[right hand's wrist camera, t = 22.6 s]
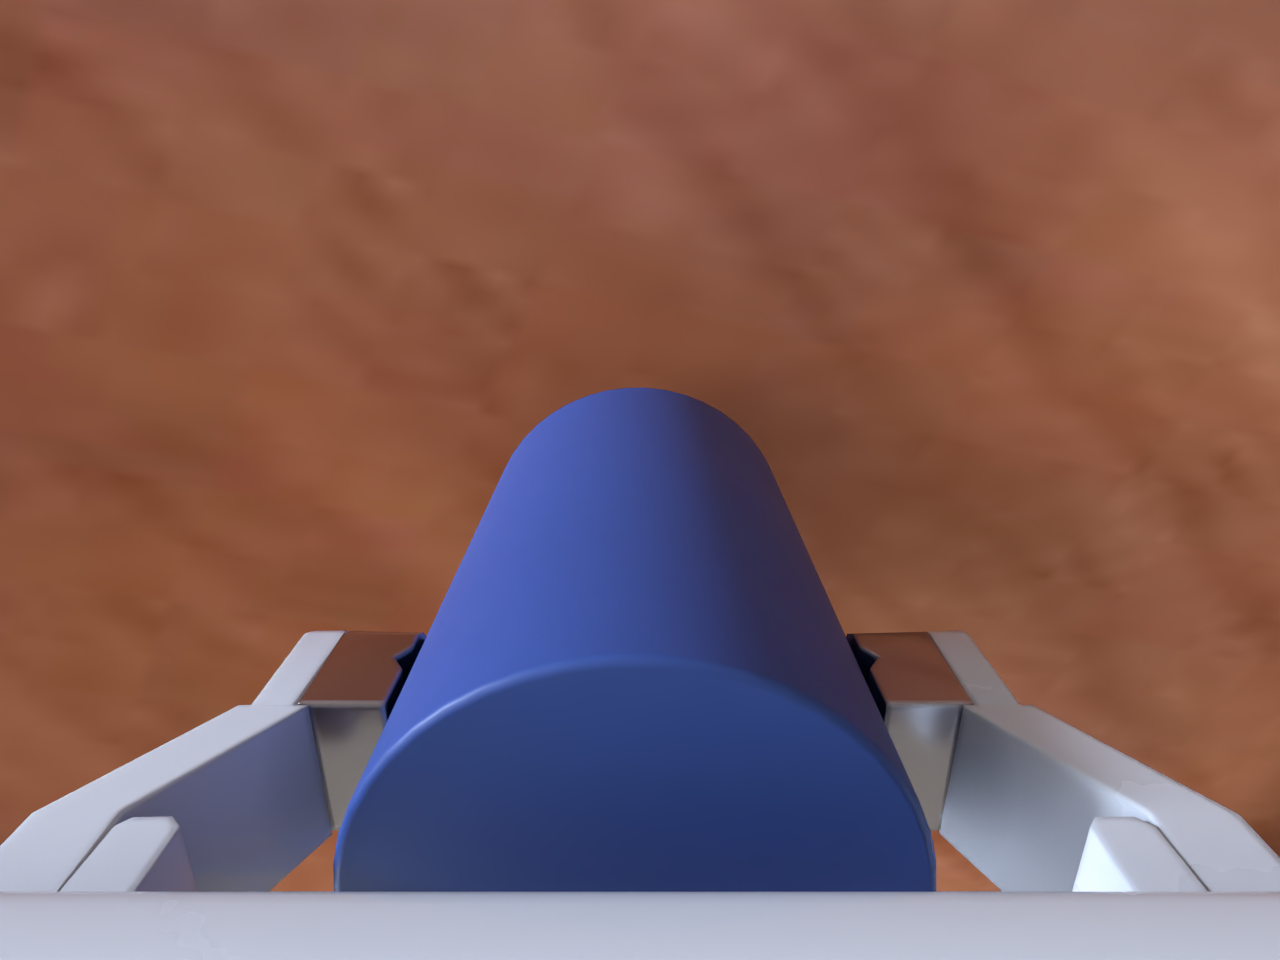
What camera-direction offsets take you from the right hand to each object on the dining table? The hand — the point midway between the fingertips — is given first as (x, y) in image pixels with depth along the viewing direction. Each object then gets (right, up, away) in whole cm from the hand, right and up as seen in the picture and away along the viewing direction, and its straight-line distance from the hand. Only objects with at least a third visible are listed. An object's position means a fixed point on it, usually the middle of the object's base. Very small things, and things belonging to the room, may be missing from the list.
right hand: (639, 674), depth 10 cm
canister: (0, +2, +5) cm, 5 cm away
